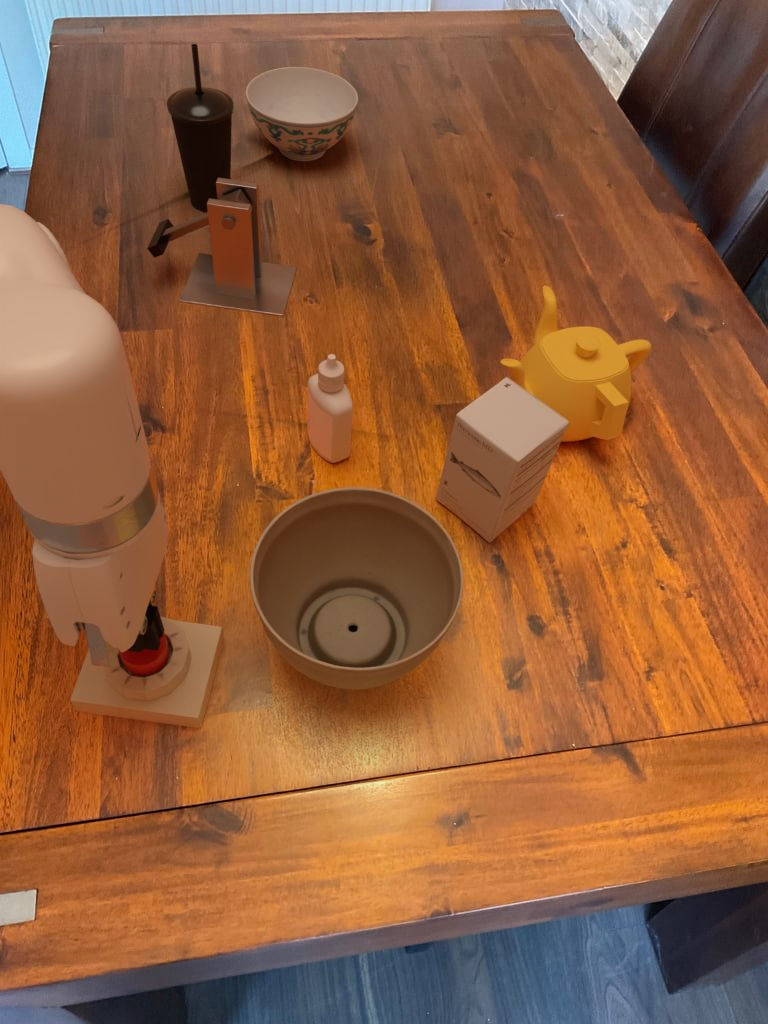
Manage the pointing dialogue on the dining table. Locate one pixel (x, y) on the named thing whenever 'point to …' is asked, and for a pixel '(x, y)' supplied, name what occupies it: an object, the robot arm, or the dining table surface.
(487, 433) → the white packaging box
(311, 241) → the dining table surface
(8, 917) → the dining table surface
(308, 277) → the dining table surface
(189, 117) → the drinking cup
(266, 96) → the chinaware
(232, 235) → the lever stand
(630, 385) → the teapot
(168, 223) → the lever
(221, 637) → the button block
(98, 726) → the dining table surface
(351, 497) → the planter bowl
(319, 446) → the eye dropper bottle
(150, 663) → the button
